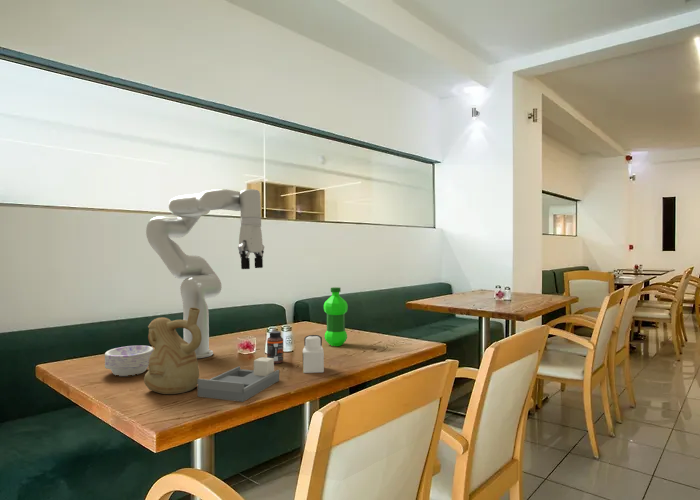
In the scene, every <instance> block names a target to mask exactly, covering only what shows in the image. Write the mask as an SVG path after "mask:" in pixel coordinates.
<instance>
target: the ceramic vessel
mask: <svg viewBox="0 0 700 500" xmlns="http://www.w3.org/2000/svg"><path fill="white" fill-rule="evenodd" d="M199 312H200V310H199V309H198V308H190V309H189V316H188V320H183V319H175V320H174V319H173V320H171V319H170V318H168V317H164V316H163V317H162V316H161V317H156V318H154V319H153V320H151V322H150V323H149V324H148V325H147V328H148V335H147V339H148V342H149V344H150V345H151V346H150V347H153V349H154V350H153V352H152V353H151V355H150V358H149V365H148V371H147V372H146V373H145V374H144V377H143V382H144V385H145V387H146V388H147V389H148V390H149V391H151V390H152V391H151V392H155V393H158V394H164V395H177V394H184V393H186V392H190V391H192V390H194V389H195V388H197V387H198V380H197V379H200V368H199V363H198V359H197V358H196V353H195V350H196V349H197V348H198V347H199V345H200V343H201V338H202V337H201V331H200V329H199V327H198V326H197V325H196V324H197V319H198V315H199ZM179 328H180V329H184V328H185V329H188V330H189V331H190V332H191V333H192V341H191V342H190V343H187V342H186V341H185V340H184V338H183V337H181V335H179V333H178V332H177V329H179Z"/></svg>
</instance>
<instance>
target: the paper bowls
mask: <svg viewBox="0 0 700 500" xmlns="http://www.w3.org/2000/svg"><path fill="white" fill-rule="evenodd" d="M154 349H155V348H154V347H153V346H150V345H127V346H121V347H115V348H111V349H109V350H107V351H106V352H105V353H104V369H106V370H110V371H111V372H112V374H113V375H115V376H116V375H119V376H118V377H129V376H128V375H132V376H136V375H135V374H137V375H141V374H143V373H144V372H146V370H147V369H148V368H149V366H148V365H149V358H150V355H151V353H152V352H153V350H154Z"/></svg>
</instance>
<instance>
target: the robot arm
mask: <svg viewBox="0 0 700 500" xmlns="http://www.w3.org/2000/svg"><path fill="white" fill-rule="evenodd" d="M261 200H262V199H261V193H260V191H259V190H258V189H254V188H253V189H252V188H247V189H243V190H240V191H238V190H232V189H228V188H227V189H225V188H223V189H222V188H221V189H220V188H219V189H218V188H217V189H211V190H204V191H202V192H200V193H193V194H183V195H178V196H177V195H176V196H175V197H173V198H171V199H170V200H169V203H168V209H169V211H170V213H171V214H172V215H173V216H174V217H173V216H155V217H153V218H151V219H150V220H149V221H148V222H147V225H146V227H145V233H146V234H145V235H146V239H147V242H148V243H149V245H150V246H151V248H152V249H153V250H154V252H155V253H156V254H157V255H158V256H159V257H160V259H161V260H162V263H163V264H165V266H166V268H167V269H168V271H169V272H170V274H171V275H172V276H173V277H174V278H176V279H177V280H183V281H182V282H181V284H180V288H179V289H180V295H181V300H182V301H181V302H182V310H183V314H182V315H183V319H182V320H188V316H189V309H190V308H198V309H199V310H200V312H199V315H198V319H197V324H196V325H197V326H198V327H199V329H200V331H201V337H202V338H201V343H200V345H199V347H198V348H197V349H196V350H195V353H196V358H197V360H198V359H204V358H208V357H212V355H213V354H214V351H213V350H211V349H210V347H209V346H210V326H209V324H210V322H209V319H210V318H209V315H210V313H209V306H208V304H207V301H206V299H211V298H215V297H218V295H219V294H220V293H222V292H221V291H222V289H223V288H222V282H221V280H220V278H219V276H218V275H217V273H216V272H215V271H214V269H213V268H212V267H211V266H210V264H209V263H208V261H207V260H205V258H204V257H202V256H199V255H188V254H186V253H185V252H184V251H183V249H182V248H181V247H180V245H179V244H178V243H176V241H174V240H172V239H171V238H173V239H175V238H176V239H177V238H179V239H181V238H184V237H185V236H187V235H188V234H189V233H190V231H192V229H193V228H194V226H195V225H196V223H198V221H199V219H200V218H201V217H202V216H204V215H205V216H206V215H207V214H209V213H210V212H211V211H216V210H217V211H218V210H219V211H220V210H224V211H225V210H226V211H234V212H239V213H240V227H239V236H238V237H239V238H238V246H237V248H238V254H239V257H240V263H241V264H240V266H241V267H240V268H241V270H250V268H251V266H250V257H249V256H250V254H252V253H253V254H254V268H255V269H262V268H263V267H264V260H263V258H264V253H265V252H264V251H265V246H264V245H263V234H262V206H261V205H262V203H261ZM175 216H176V217H175ZM183 340H185V341H186V342H187V343H190V342H191V341H192V333H191V332H190V331H189V330H188V329H185V328H183Z"/></svg>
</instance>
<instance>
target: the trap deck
mask: <svg viewBox="0 0 700 500" xmlns="http://www.w3.org/2000/svg"><path fill="white" fill-rule="evenodd" d="M197 380H198V384H197V397H198V398H199V397H200V398H206V399H216V400H217V399H218V400H225V401H235V402H241V403H243V402H246V401H247V400H248V399H251V398H252V397H254V396H255V395H257V394H259V393H261V392H262V391H264V390H265V389H268V388H269V387H270V386H272V385H274V384H276V383H277V382H280V369H276V370H274V372H272V373H271V374H269V375H267V376H259V375H254V369H253V370H252V369H243V368H242V369H241V366H239V365H238V366H237V367H234V368H231V369H229V370H227V371H225V372H222V373H221V374H217V376H213V377H211V378H209V379H207V378H206V379H205V378H199V379H197Z"/></svg>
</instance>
